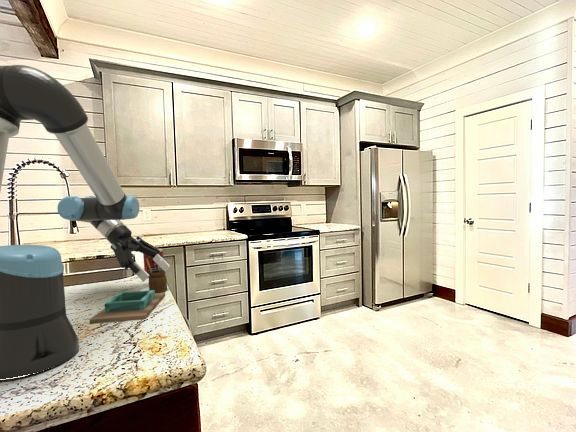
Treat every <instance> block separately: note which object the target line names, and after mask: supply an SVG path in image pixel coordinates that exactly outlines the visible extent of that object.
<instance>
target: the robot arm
mask: <svg viewBox="0 0 576 432" xmlns="http://www.w3.org/2000/svg"><path fill="white" fill-rule="evenodd" d="M33 120H35V121H37V122H39V123H40V124H41V125H42V126H43V128H44V129H45V130H46V132H48V133H49V134H53V135H55V137H56V138H57V140H58V142H59V143H60V145H61V147H62V148H63V149H64V151H65V153H66V154H67V155H68V158H70V160H71V161H72V163H73V164H74V166H75V167H76V169H77V170H78V172H79V173H80V175H81V177H82V178H83V180H84V181H85V182H86V184H87V185H88V187H89V189H90V190H91V191H92V194H94V195H87V196H85V197H78V196H76V195H75V196H72V195H67V196H64V197H63V198H62V199H60V200H59V202H58V203H57V207H56V209H57V214H58V215H59V217H60V218H62V219H64V220H67V221H70V222H81V223H82V222H84V223H89V224H91V225H92V226H93V228H95V230H96V231H98V232H99V233H100V235H102V236H103V237H104V238H105V239H106V240H107V241H108V242H109V243H110V244H111V245H110V248H111V249H112V251H113V253H114V256H115V257H116V259H117V261H118V263H119V267H121V268H122V269H125V270H128V269H129V270H130V271H131V272H133V274H135V276H137V277H138V278H139V279H140V280H141V281H142V282H145V281H146V280H147V279H149V278H148V277H149V276H150V275H149V274H148V273H147V272H146V271H145V270H144V267H141V265H140V264H139V263H138V262H137V261H134V259H133V254H132V252H137V253H141V254H145V255H148V256H150V257H152V258H153V260H154V261H155V262H156V263H157V264H158V265H159V266H160V265H161V268H162V269H163V270H165V272H166V271H167V270H168V269H169V268H170V266H171V265H170V264H169V263H168V262H167V261H166V259H164V257H163V258H162V257H161V256H160V255H159V253H160V250H158V249H159V248H157V247H155V246H154V245H151V243H149V242H147V241H146V240H144V239H143V238H141V237H140V236H137V237H135V238H134V237H133V236H132V234H133V233H132V230H130V229H129V228H128V226H127V225H124V222H123V221H124V220H132V219H136V218H137V217H138V216H139V213H140V202H139V200H138V199H137V197H135V196H133V195H126V193H125V192H124V190H123V189H122V187H121V185H120V183H119V181H118V179H117V177H116V176H115V174H114V171H113V170H112V168H111V166H110V164H109V163H108V161H107V159H106V157H105V154H104V153H103V152H102V150H101V148H100V146H99V143H98V142H97V141H96V139H95V137H94V135H93V133H92V132H91V129H90V127H89V126H88V122H89V116H88V115H87V113H86V111H85V109H84V108H83V106H82V105H81V103H80V102H79V100H78V99H77V98H76V97H75V96H74V94H72V92H71V91H70V90H69V89H68V88H67V87H66V86H65V85H64V84H62V83H61V82H60V81H58V80H57V79H56V78H54V77H53V76H51V75H50V74H48V73H47V72H45V71H43V70H41V69H38V68H36V67H32V66H29V65H24V64H13V65H0V192H1V191H2V185H3V177H4V171H5V165H6V158H7V152H8V147H9V146H8V145H9V139H10V138H12V137H16V136H17V135H18V134H19V133H20V126H21V125H20V124H21V122H22V121H33ZM161 259H162V261H161ZM163 259H164V260H163ZM163 261H164V264H163ZM64 271H65V269H64V264H63V261H62V256H61V252H60V251H59V250H57V248H55V247H52V246H49V245H41V244H9V245H8V244H7V245H0V379H6V378H13V377H18V376H23V375H28V374H33V373H37V372H41V371H43V370H46V369H48V368H51V367H53V368H55V367H54V366H56V365H58V366H60V365H62V364H64V363H66V362H67V361H69V360H70V359H71V358H73V357H74V356H75V355H76V354H77V353H78V352H79V349H80V343H79V338H78V337H79V336H78V334H77V333H76V331H75V329H74V327H73V325H72V324H71V321H70V319H69V317H68V315H67V308H66V294H65V293H66V292H65V291H66V290H65V280H64ZM63 362H64V363H63ZM61 363H62V364H61ZM59 364H60V365H59ZM56 367H57V366H56ZM51 369H52V368H51ZM46 371H47V370H46ZM43 372H44V371H43ZM41 373H42V372H41Z"/></svg>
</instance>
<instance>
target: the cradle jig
mask: <svg viewBox="0 0 576 432" xmlns="http://www.w3.org/2000/svg"><path fill="white" fill-rule="evenodd" d="M165 297H166V292H161V293H155V290H149V289H148V290H135V291H134V290H133V291H121V292H120V291H119V293H117V294H115V295H114V296H113V297H111V298H110V299H109V300H107V301H106V302H105V303H104V308H103V309H102V310H100V311H99V312H97V314H94V316H92V317H91V318H90V319H89V324H99V323H101V324H102V323H111V322H112V323H113V322H124V321H125V322H127V321H136V320H146V319H147V318H148V316H150V315H151V313H152V312H153V311H154V310H155V309H156V307H157V306H158V305H159V303H160V302H162V300H163V299H164V298H165Z"/></svg>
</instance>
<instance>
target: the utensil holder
mask: <svg viewBox="0 0 576 432" xmlns="http://www.w3.org/2000/svg"><path fill="white" fill-rule="evenodd" d="M163 260H165V259H164V258H163ZM146 261H147V264H148V267H149V269H150V271H151V268H150V267H151V266H150V264H149V261H148V259H146ZM161 261H162V259H161ZM163 264H164V261H163ZM160 267H161V265H160ZM158 268H159V265H158ZM149 275H150V277H149V278H148V290H155V293H165V292H166V291H167V290H168V280H167V275H166V271H165V270H154V271H151V272H149Z"/></svg>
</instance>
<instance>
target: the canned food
mask: <svg viewBox="0 0 576 432" xmlns="http://www.w3.org/2000/svg"><path fill="white" fill-rule="evenodd" d="M157 249H158V250H160V253H159V255H160V256H161V257H162V258H163V259H164V249H163V248H157ZM142 254H143V253H142ZM146 259H148V261H149V264H150V266H151V267H150V268H151V271H154V270H163V269H162V268H161V267H160V266H159V268H158V264H157V263H156V262H155V261H154V260H153V258H152V257H150V256H148V255H145V254H143V269H144V270H145V271H146V272H147V273H148V274H149V272H151V271H150V269H149V267H148V264H147V261H146ZM149 277H150V276H149Z"/></svg>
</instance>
